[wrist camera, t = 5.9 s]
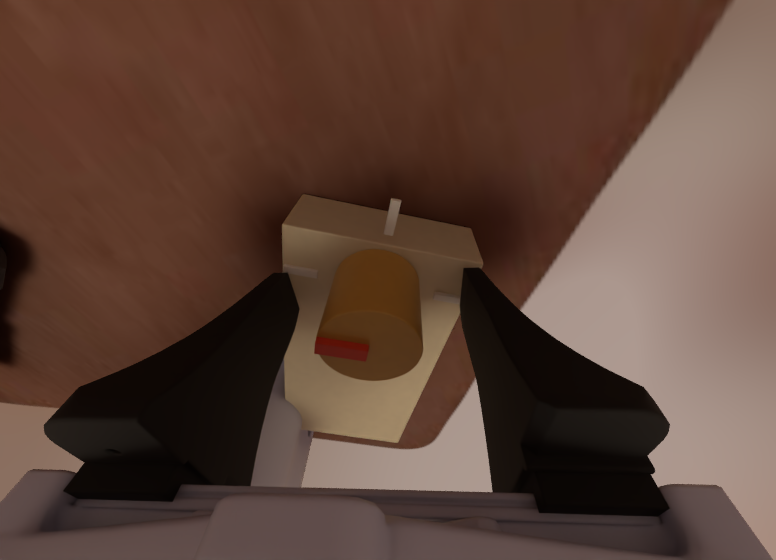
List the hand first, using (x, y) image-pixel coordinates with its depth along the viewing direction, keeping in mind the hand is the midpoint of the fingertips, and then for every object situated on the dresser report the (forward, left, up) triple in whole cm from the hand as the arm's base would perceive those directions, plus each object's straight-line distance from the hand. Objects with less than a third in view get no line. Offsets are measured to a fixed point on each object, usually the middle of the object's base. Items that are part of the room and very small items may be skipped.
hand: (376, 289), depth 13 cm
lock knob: (0, 0, 0) cm, 0 cm away
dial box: (-6, +1, -3) cm, 7 cm away
